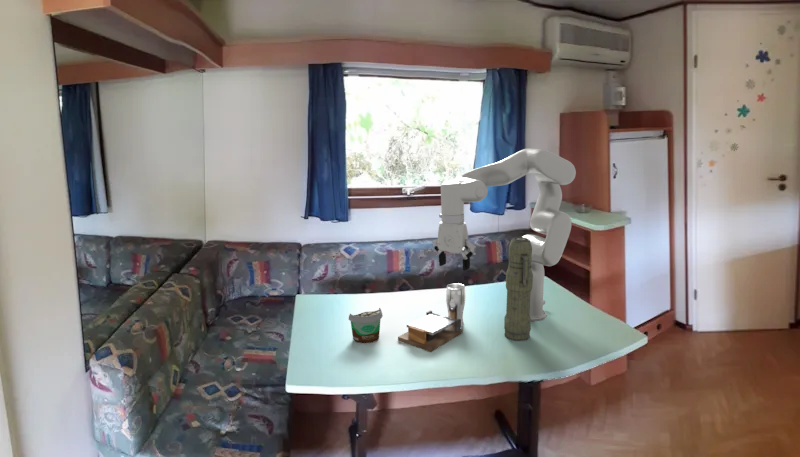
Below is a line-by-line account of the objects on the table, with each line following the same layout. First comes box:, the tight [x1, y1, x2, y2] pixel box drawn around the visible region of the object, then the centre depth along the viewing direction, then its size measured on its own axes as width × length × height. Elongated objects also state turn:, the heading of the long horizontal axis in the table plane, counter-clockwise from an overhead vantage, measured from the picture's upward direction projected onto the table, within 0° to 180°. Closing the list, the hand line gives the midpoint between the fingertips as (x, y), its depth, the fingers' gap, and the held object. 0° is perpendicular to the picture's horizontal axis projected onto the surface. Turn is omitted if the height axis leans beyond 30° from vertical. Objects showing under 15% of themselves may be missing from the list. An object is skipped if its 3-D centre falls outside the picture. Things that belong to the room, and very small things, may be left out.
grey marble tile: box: [406, 312, 456, 335], centre depth 176 cm, size 15×11×2 cm
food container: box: [348, 307, 384, 344], centre depth 173 cm, size 12×6×10 cm, turn 117°
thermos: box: [503, 236, 533, 342], centre depth 173 cm, size 9×12×35 cm
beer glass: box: [445, 283, 466, 328], centre depth 185 cm, size 7×7×15 cm
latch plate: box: [397, 310, 464, 353], centre depth 176 cm, size 19×14×6 cm
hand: (454, 267), depth 173 cm, fingers open, 9 cm apart
